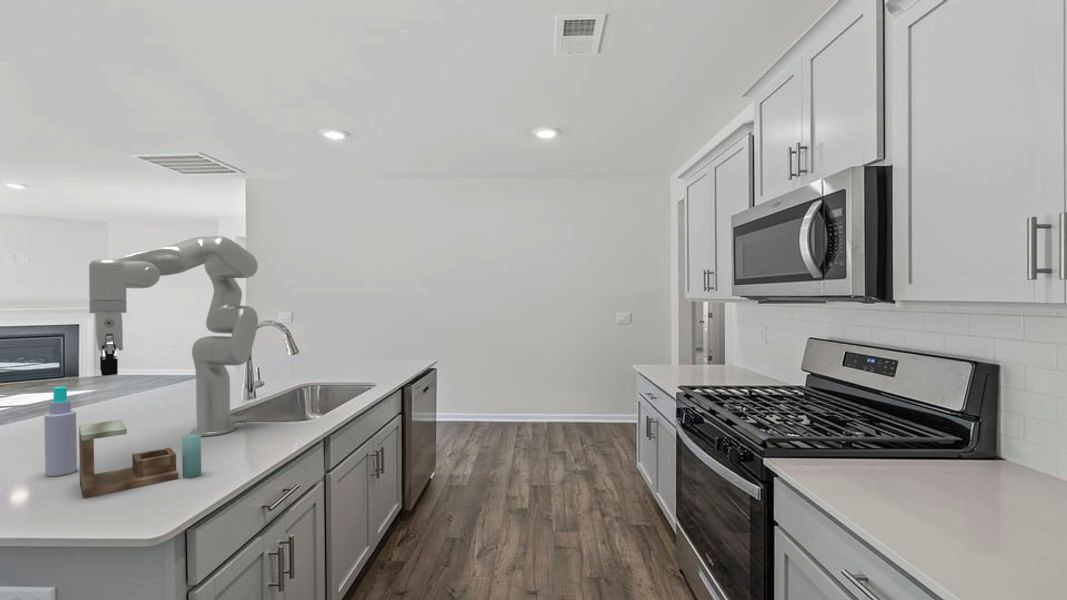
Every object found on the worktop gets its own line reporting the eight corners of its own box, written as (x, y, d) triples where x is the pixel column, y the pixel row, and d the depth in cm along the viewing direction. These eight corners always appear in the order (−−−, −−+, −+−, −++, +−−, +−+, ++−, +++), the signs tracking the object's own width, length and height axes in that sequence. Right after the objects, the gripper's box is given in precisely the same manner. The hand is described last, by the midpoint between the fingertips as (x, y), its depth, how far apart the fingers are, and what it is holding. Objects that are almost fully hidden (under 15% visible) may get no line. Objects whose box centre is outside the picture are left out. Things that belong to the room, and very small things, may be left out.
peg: (199, 471, 136) (198, 433, 136) (202, 475, 133) (202, 436, 133) (181, 475, 133) (180, 436, 133) (184, 479, 130) (183, 439, 130)
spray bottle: (51, 470, 136) (50, 386, 136) (80, 467, 139) (79, 384, 138) (40, 478, 131) (39, 390, 130) (71, 475, 133) (70, 388, 133)
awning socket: (168, 465, 140) (168, 413, 140) (178, 478, 131) (177, 422, 130) (79, 482, 128) (78, 425, 127) (83, 498, 118) (82, 435, 118)
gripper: (128, 307, 132) (129, 375, 133) (124, 306, 146) (124, 368, 146) (89, 308, 128) (90, 378, 128) (89, 306, 141) (89, 370, 141)
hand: (108, 372), depth 137 cm, fingers open, 9 cm apart
